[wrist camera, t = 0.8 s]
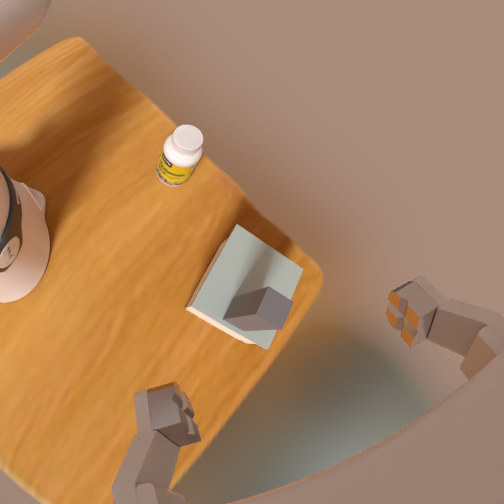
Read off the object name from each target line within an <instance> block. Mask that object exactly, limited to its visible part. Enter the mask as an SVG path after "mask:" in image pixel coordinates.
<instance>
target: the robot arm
mask: <svg viewBox="0 0 504 504" xmlns="http://www.w3.org/2000/svg"><path fill="white" fill-rule="evenodd" d="M51 2H52V0H0V62H1V61H2V60H4V59H5V58H6V57H7V56H8V55H9V54H10V53H12V51H14V50H15V49H16V48H17V47H18V46H20V45H21V44H22V43H23V42H24V41H25V40H27V39H28V38H29V37H30V36H32V35H33V34H34V33H35V32H36V31H37V30H38V29H39V27H40V26H41V24H42V22H43V20H44V18H45V16H46V14H47V12H48V9H49V7H50V5H51ZM45 208H46V199H45V196H44V195H43V194H42V193H41V192H39V191H37V190H35V189H32V188H30V187H28V186H26V185H25V184H24V183H23V182H22V183H19V182H17V181H15V180H13V179H11V178H10V177H9V175H8V174H7V173H6V172H5V171H4V170H3V169H2V168H1V167H0V302H3V303H4V302H12V301H15V300H18V299H20V298H22V297H24V296H25V295H27V294H28V293H29V292H30V291H31V290H32V289H33V288H34V287H35V286H36V285H37V283H38V282H39V281H40V279H41V277H42V276H43V274H44V271H45V269H46V266H47V263H48V259H49V253H50V238H49V232H48V228H47V225H46V222H45ZM388 299H389V300H390V303H389V305H388V306H387V312H386V314H387V317H388V320H389V322H390V324H391V325H392V326H393V327H394V329H397V330H400V331H401V337H402V338H403V340H404V341H405V342H406V343H407V344H408V346H409V347H410V348H412V347H414V346H415V345H417V344H419V343H420V342H422V341H424V340H425V339H427V340H429V341H431V342H433V343H436V344H438V345H440V346H442V347H444V348H447V349H449V350H451V351H453V352H455V353H458V354H460V355H462V356H464V357H465V358H464V360H463V362H462V364H461V366H460V370H461V371H462V372H463V374H464V375H465V376H466V377H467V378H468V381H467V382H466V383H464V384H463V385H462V386H461V387H459V388H458V389H457V390H456V391H454V392H453V393H452V394H450V395H449V396H448V397H446V398H445V399H444V400H442V401H441V402H440V403H439V404H437V405H436V406H434V407H433V408H432V409H430V410H429V411H427V412H426V413H424V414H423V415H421V416H420V417H418V418H417V419H415V420H414V421H412V422H411V423H409V424H408V425H406V426H404V427H403V428H401V429H400V430H398V431H396V432H395V433H393V434H391V435H390V436H388V437H386V438H385V439H383V440H381V441H379V442H378V443H376V444H374V445H372V446H371V447H369V448H367V449H365V450H363V451H361V452H359V453H357V454H356V455H353V456H351V457H350V458H347V459H345V460H343V461H341V462H339V463H337V464H335V465H333V466H331V467H328V468H326V469H324V470H322V471H320V472H317V473H315V474H313V475H310V476H308V477H305V478H303V479H300V480H298V481H295V482H293V483H290V484H287V485H285V486H282V487H279V488H276V489H273V490H271V491H268V492H265V493H261V494H258V495H255V496H252V497H249V498H245V499H242V500H238V501H235V502H231V503H227V504H504V317H503V316H502V315H501V314H500V313H497V312H494V311H491V310H488V309H484V308H481V307H477V306H474V305H471V304H467V303H464V302H461V301H458V300H454V299H450V300H448V299H447V298H446V297H445V296H444V295H443V294H442V293H441V292H440V291H439V290H438V289H437V288H436V287H435V286H434V285H432V284H431V283H430V282H429V281H428V280H427V279H426V278H425V277H423V276H419V277H417V278H415V279H414V280H412V281H410V282H407V283H406V284H404V285H402V286H400V287H398V288H397V289H395V290H393V291H391V292H390V293H389V297H388ZM134 402H135V411H136V420H137V428H138V434H137V435H135V436H134V438H133V440H132V442H131V445H130V447H129V449H128V451H127V454H126V456H125V458H124V460H123V463H122V465H121V467H120V469H119V472H118V474H117V476H116V478H115V481H114V483H113V485H112V493H113V499H114V504H186V503H185V500H184V497H182V496H181V495H179V494H176V493H173V492H171V491H168V490H169V487H170V483H171V480H172V476H173V473H174V469H175V466H176V462H177V459H178V455H179V452H180V448H179V447H183V446H186V445H190V444H193V443H196V442H199V441H201V437H200V433H199V430H198V426H197V424H196V423H195V422H194V421H193V420H192V419H193V417H194V415H195V414H194V410H193V407H192V404H191V402H190V399H189V398H188V396H187V394H186V393H185V392H183V391H180V386H179V385H178V384H177V382H176V381H174V382H171V383H168V384H164V385H161V386H157V387H154V388H150V389H146V390H143V391H139V392H136V393H135V396H134Z"/></svg>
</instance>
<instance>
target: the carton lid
mask: <svg viewBox="0 0 504 504" xmlns="http://www.w3.org/2000/svg"><path fill="white" fill-rule="evenodd" d="M302 272H303V269H302V268H301V267H299V266H298V265H297V264H295V263H294V262H292V261H291V260H289V259H288V258H286V257H285V256H283V255H282V254H281V253H279V252H278V251H276V250H275V249H273V248H272V247H270V246H269V245H267V244H266V243H264V242H263V241H261V240H260V239H259V238H257V237H256V236H254V235H253V234H251V233H250V232H248V231H247V230H245V229H244V228H242V227H241V226H239V225H238V224H236V225H235V227H234V229H233V230H232V232H231V234H230V236H229V237H228V239H227V241H226V243H225V244H224V246H223V248H222V250H221V252H220V253H219V255H218V257H217V259H216V260H215V262H214V264H213V266H212V268H211V269H210V271H209V273H208V275H207V276H206V278H205V280H204V282H203V284H202V285H201V287H200V289H199V291H198V293H197V295H196V296H195V298H194V300H193V302H192V304H191V305H190V306H191V307H192V308H194V309H196V310H197V311H199V312H201V313H203V314H204V315H206V316H208V317H209V318H211V319H213V320H214V321H216V322H218V323H220V324H221V325H223V326H225V327H227V328H228V329H230V330H232V331H234V332H236V333H237V334H239V335H241V336H243V337H244V338H246V339H248V340H250V341H252V342H254V343H255V344H257V345H259V346H261V347H263V348H265V349H269V347H270V345H271V342H272V340H273V338H274V336H275V334H276V331H277V330H278V329H282V327H283V325H284V323H285V320H286V318H287V316H288V314H289V311H290V309H291V307H292V304H293V301H292V300H291V297H292V295H293V293H294V290H295V288H296V286H297V283H298V281H299V279H300V276H301V274H302Z"/></svg>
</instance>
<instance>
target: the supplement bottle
mask: <svg viewBox="0 0 504 504" xmlns="http://www.w3.org/2000/svg"><path fill="white" fill-rule="evenodd" d="M202 143H203V135H202V133H201V131H200V130H199V129H198V128H196V127H195V126H192V125H181V126H179V127H178V128H176V130H175V131H174V133H173V134H171V135H170V136H169V137H168V138H167V139H166V141H165V143H164V146H163V149H162V152H161V154H160V157H159V160H158V164H157V168H156V172H157V175H158V178H159V179H160V180H161V181H162V182H163V183H164V184H166V185H169V186H180V185H182V184H184V183H185V182H186V181H187V180H188V179H189V177H190V176H191V174H192V172H193V170H194V169H195V167H196V165H197V163H198V162H199V160H200V158H201V155H202V151H203V149H202Z"/></svg>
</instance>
